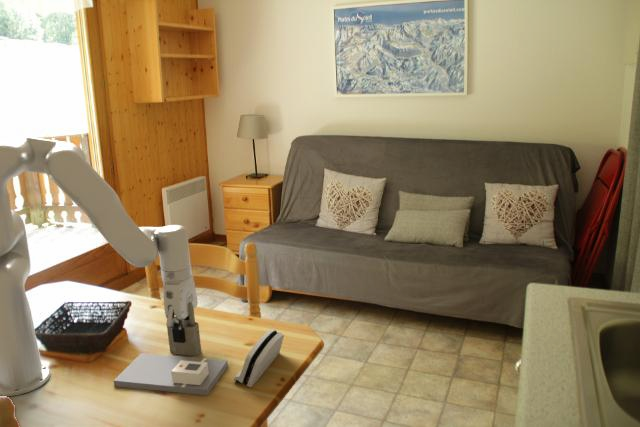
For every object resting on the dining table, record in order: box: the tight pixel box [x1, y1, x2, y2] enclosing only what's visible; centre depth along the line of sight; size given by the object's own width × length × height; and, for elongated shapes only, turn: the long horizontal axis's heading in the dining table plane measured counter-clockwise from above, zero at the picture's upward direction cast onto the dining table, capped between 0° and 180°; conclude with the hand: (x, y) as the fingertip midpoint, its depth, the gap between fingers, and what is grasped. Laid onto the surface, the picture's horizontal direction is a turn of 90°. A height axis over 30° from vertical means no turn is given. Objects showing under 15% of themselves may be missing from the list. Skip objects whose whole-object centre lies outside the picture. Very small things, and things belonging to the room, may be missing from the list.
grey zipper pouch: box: [233, 328, 285, 388], centre depth 137 cm, size 17×5×10 cm, turn 160°
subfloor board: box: [113, 352, 229, 396], centre depth 136 cm, size 24×13×2 cm, turn 78°
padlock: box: [166, 301, 202, 357], centre depth 146 cm, size 4×8×15 cm, turn 71°
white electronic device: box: [171, 360, 209, 385], centre depth 131 cm, size 7×5×3 cm
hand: (183, 336), depth 146 cm, fingers closed on padlock, 4 cm apart
